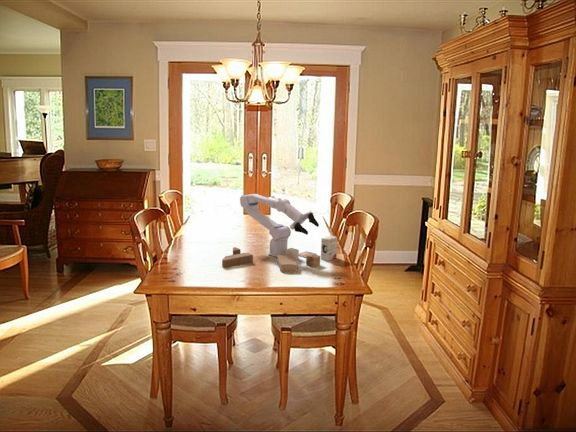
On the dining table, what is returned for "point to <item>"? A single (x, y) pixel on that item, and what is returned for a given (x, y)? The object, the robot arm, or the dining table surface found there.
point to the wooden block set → (237, 259)
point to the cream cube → (292, 252)
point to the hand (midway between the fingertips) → (312, 229)
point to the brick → (287, 263)
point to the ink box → (328, 248)
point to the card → (305, 254)
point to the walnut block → (313, 260)
